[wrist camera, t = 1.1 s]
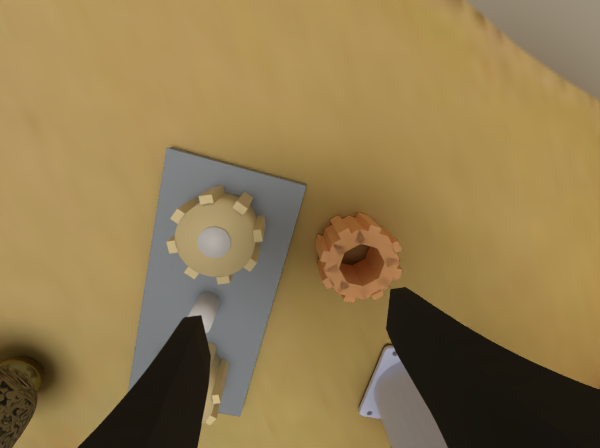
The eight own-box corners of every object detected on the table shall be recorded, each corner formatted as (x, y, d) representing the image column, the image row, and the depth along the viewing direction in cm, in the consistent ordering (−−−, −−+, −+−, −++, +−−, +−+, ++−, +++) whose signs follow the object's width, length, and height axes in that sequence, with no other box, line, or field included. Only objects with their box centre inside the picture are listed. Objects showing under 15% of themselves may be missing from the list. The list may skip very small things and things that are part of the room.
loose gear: (396, 222, 24) (416, 236, 20) (372, 286, 25) (386, 310, 22) (326, 204, 23) (334, 215, 19) (306, 271, 24) (309, 293, 21)
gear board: (305, 184, 22) (311, 196, 18) (241, 407, 28) (233, 461, 23) (171, 147, 21) (139, 149, 16) (132, 388, 27) (100, 442, 22)
